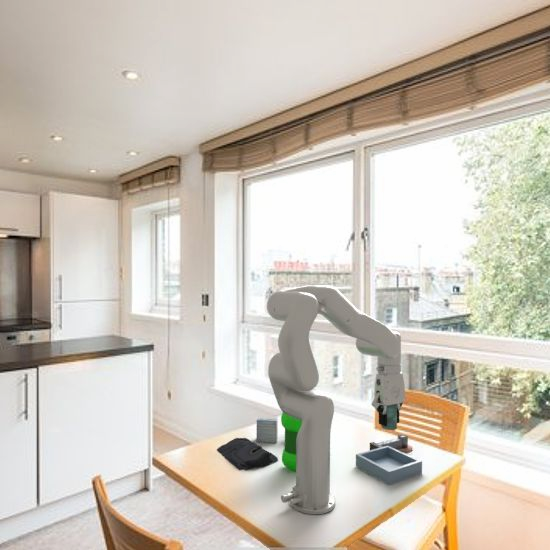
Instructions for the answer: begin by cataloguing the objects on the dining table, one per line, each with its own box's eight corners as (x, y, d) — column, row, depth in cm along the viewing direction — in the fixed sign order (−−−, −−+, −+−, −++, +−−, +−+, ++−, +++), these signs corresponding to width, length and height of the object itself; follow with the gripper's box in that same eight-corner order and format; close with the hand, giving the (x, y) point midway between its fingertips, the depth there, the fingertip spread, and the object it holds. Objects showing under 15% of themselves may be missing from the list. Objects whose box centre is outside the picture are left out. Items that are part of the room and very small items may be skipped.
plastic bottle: (292, 478, 133) (292, 399, 134) (275, 466, 142) (275, 391, 143) (317, 471, 139) (318, 395, 139) (299, 459, 148) (300, 387, 148)
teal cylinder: (389, 431, 137) (389, 406, 137) (378, 426, 141) (378, 402, 141) (400, 428, 140) (400, 404, 140) (388, 423, 144) (388, 400, 144)
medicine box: (277, 439, 167) (277, 416, 167) (276, 443, 162) (276, 420, 162) (257, 438, 167) (258, 416, 167) (256, 442, 163) (256, 419, 163)
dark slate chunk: (250, 442, 164) (250, 430, 164) (281, 463, 146) (281, 449, 146) (213, 450, 156) (213, 437, 156) (241, 474, 137) (241, 459, 137)
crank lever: (400, 443, 161) (400, 433, 161) (411, 447, 157) (411, 437, 157) (369, 451, 153) (369, 441, 153) (379, 456, 149) (379, 445, 149)
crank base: (403, 453, 153) (403, 452, 153) (388, 447, 159) (388, 445, 159) (416, 449, 157) (416, 448, 157) (401, 443, 163) (401, 441, 163)
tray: (389, 484, 130) (389, 471, 130) (355, 466, 143) (355, 454, 143) (422, 473, 138) (422, 461, 138) (387, 456, 151) (387, 445, 151)
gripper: (378, 374, 133) (378, 432, 133) (415, 368, 142) (415, 422, 142) (362, 369, 139) (361, 424, 139) (398, 364, 148) (398, 416, 148)
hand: (389, 422), depth 141 cm, fingers closed on teal cylinder, 5 cm apart
